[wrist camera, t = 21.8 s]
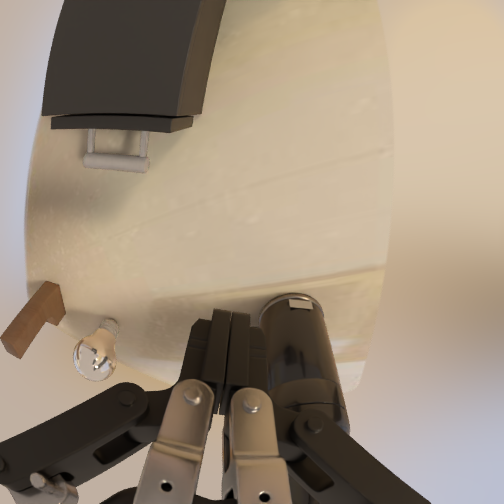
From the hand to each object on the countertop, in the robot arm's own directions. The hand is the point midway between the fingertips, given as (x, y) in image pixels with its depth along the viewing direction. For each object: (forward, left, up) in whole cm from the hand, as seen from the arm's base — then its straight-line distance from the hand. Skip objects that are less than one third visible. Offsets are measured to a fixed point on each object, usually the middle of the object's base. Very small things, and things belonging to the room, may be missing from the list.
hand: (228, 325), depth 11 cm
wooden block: (-24, +30, -22) cm, 44 cm away
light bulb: (-26, +18, -22) cm, 39 cm away
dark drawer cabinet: (+15, +13, -22) cm, 30 cm away
